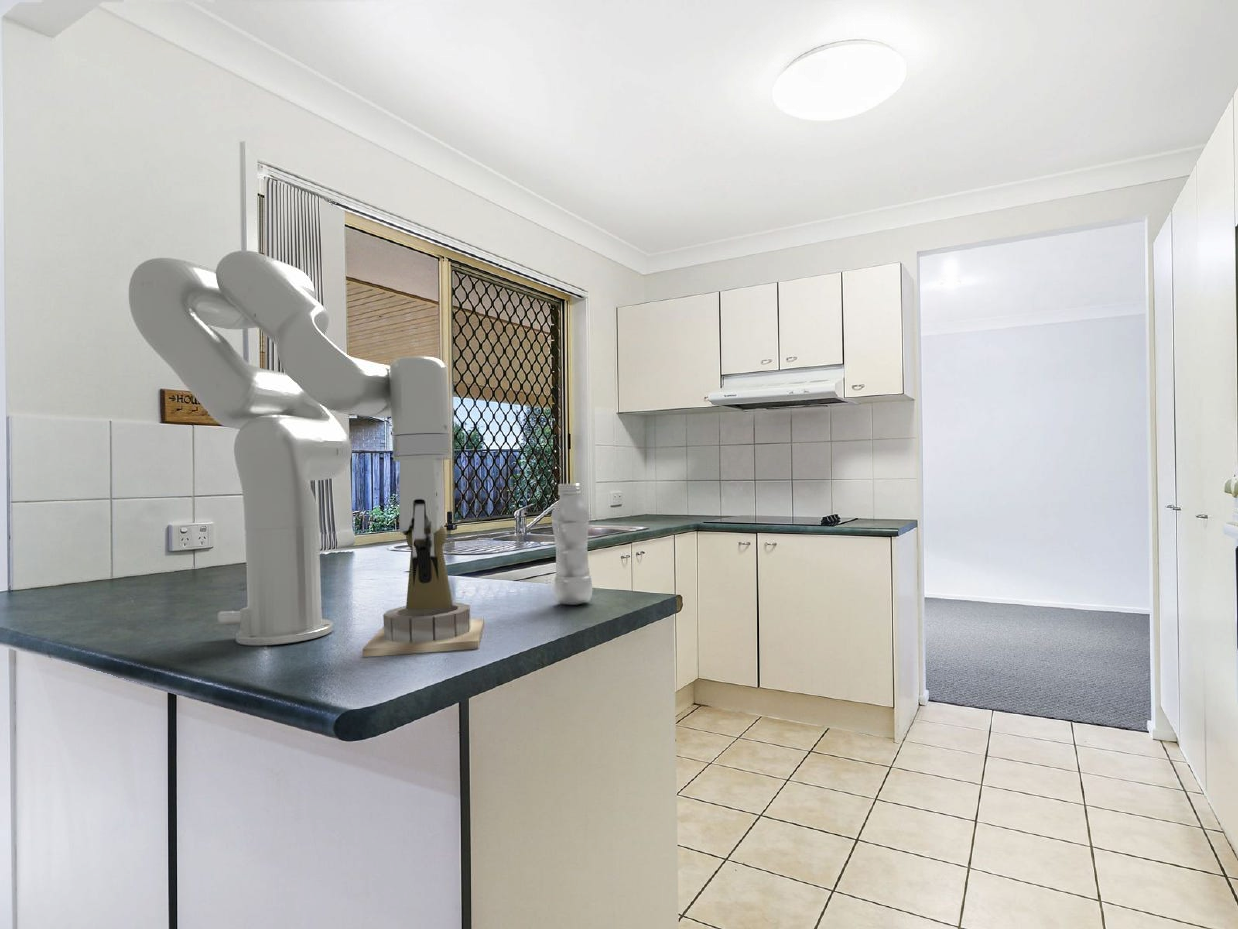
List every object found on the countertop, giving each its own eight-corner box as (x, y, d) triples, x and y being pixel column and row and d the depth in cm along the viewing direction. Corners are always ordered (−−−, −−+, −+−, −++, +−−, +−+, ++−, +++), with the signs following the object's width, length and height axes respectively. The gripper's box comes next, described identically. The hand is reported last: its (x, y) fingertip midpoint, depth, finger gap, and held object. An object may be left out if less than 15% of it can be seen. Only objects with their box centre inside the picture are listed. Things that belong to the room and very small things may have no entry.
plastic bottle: (598, 600, 118) (593, 482, 118) (585, 608, 111) (580, 483, 112) (562, 600, 120) (558, 484, 120) (548, 608, 113) (543, 485, 113)
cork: (444, 609, 90) (440, 524, 91) (399, 611, 91) (395, 526, 91) (458, 600, 96) (454, 521, 97) (415, 602, 97) (411, 523, 97)
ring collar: (362, 657, 86) (361, 624, 86) (384, 632, 100) (383, 604, 100) (478, 648, 88) (477, 616, 88) (484, 625, 102) (483, 598, 102)
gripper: (403, 453, 102) (409, 579, 101) (381, 447, 85) (388, 598, 85) (456, 450, 103) (462, 575, 103) (443, 445, 87) (450, 593, 86)
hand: (428, 584), depth 94 cm, fingers closed on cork, 3 cm apart
